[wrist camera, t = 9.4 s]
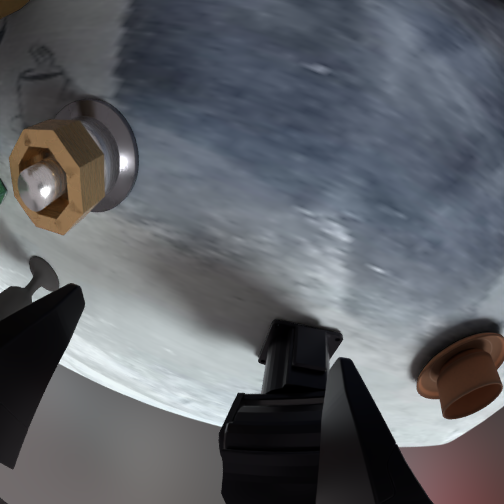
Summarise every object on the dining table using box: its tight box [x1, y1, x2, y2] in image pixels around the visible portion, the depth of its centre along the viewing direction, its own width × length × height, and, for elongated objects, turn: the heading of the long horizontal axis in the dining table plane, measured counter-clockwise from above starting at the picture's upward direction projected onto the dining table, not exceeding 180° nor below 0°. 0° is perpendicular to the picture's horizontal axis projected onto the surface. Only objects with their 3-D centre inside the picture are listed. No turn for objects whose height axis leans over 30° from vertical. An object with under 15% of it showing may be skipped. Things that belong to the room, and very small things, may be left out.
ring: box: [9, 119, 105, 235], centre depth 15 cm, size 7×7×2 cm
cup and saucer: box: [417, 333, 504, 419], centre depth 23 cm, size 12×12×6 cm
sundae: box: [0, 257, 59, 320], centre depth 21 cm, size 7×7×15 cm
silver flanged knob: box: [18, 99, 139, 212], centre depth 16 cm, size 9×9×6 cm
